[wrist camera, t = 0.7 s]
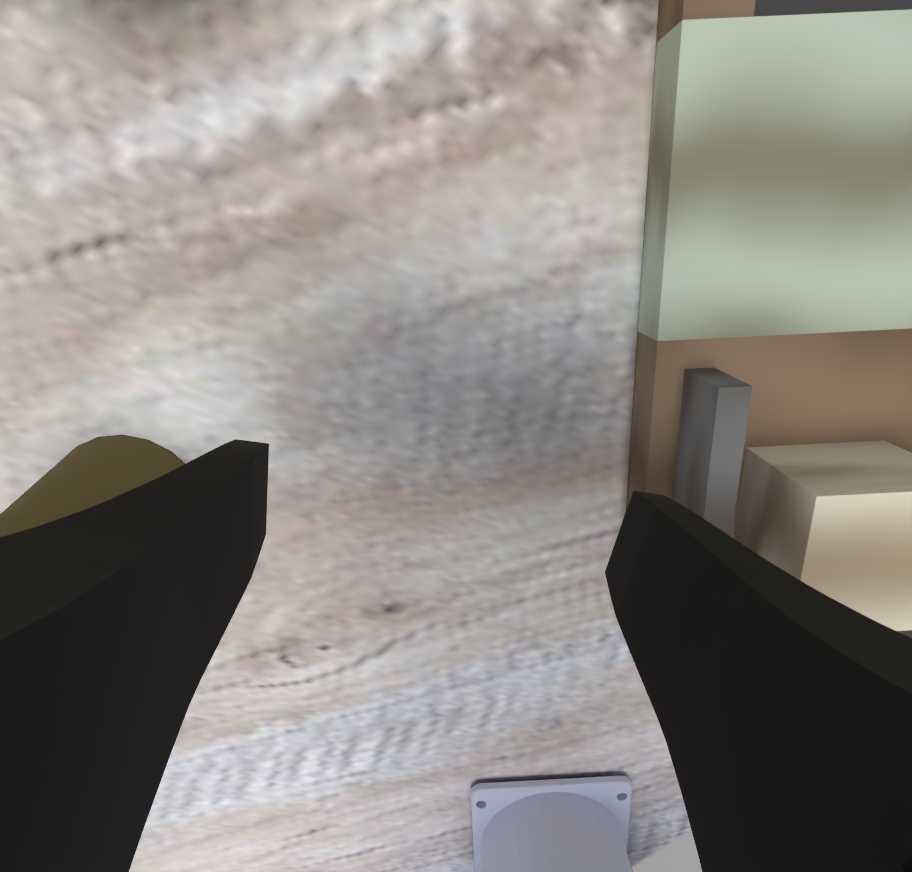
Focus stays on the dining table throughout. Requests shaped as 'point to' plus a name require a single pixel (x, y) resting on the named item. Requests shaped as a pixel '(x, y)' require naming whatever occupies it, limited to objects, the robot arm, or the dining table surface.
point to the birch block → (835, 521)
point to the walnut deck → (773, 241)
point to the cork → (88, 480)
